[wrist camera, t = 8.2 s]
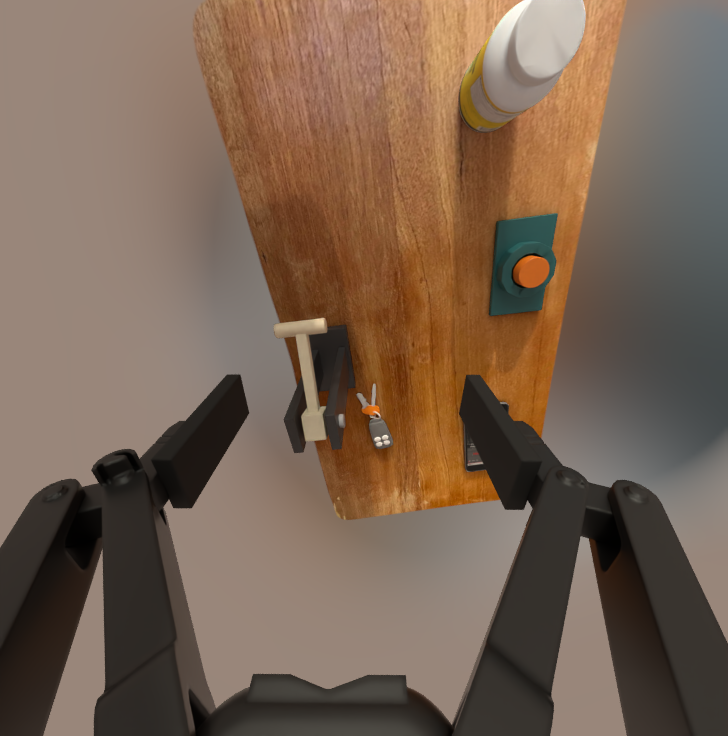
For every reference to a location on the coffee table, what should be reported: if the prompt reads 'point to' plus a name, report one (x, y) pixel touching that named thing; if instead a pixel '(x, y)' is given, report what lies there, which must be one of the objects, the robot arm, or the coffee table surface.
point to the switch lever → (307, 374)
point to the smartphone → (474, 450)
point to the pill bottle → (520, 61)
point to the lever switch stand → (325, 386)
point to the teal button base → (511, 247)
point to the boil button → (531, 271)
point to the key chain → (376, 422)
